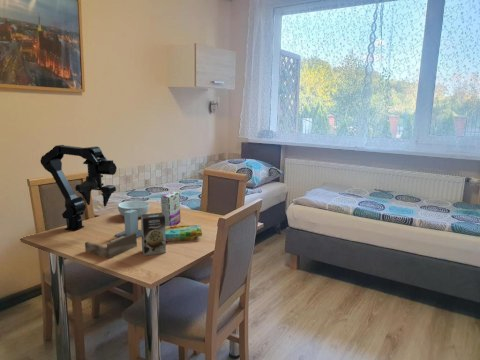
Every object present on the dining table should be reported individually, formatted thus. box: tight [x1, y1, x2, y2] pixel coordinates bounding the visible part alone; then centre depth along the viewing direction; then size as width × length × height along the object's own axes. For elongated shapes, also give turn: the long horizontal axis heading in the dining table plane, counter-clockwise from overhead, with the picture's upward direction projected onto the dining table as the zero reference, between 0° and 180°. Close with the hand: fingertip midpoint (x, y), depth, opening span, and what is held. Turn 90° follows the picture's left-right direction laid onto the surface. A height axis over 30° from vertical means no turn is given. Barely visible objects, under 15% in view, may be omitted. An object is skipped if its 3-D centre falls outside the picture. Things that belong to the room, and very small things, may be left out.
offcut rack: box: [84, 233, 138, 259], centre depth 152 cm, size 14×15×6 cm
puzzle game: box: [165, 224, 203, 242], centre depth 167 cm, size 12×5×20 cm
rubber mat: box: [114, 229, 142, 239], centre depth 170 cm, size 11×11×1 cm
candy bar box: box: [160, 191, 181, 226], centre depth 183 cm, size 11×5×16 cm, turn 162°
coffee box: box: [140, 212, 167, 256], centre depth 149 cm, size 9×6×16 cm
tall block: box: [123, 210, 139, 235], centre depth 169 cm, size 4×5×11 cm
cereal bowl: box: [117, 200, 150, 219], centre depth 197 cm, size 17×17×7 cm
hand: (96, 205), depth 171 cm, fingers open, 9 cm apart
